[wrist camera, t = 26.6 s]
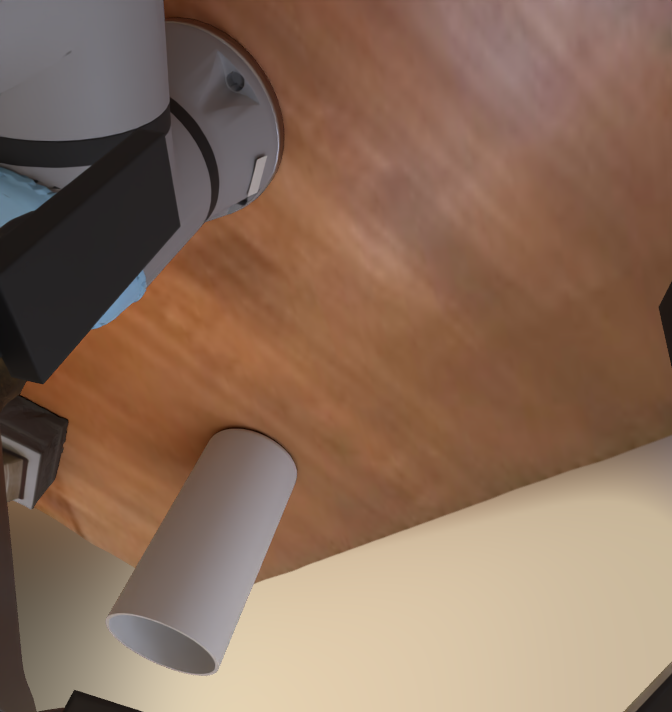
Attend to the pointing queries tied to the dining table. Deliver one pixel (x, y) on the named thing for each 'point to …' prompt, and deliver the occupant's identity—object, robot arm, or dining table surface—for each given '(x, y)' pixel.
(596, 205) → the dining table surface
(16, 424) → the grey lidded container
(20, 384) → the pottery vessel
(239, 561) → the cylinder vase
